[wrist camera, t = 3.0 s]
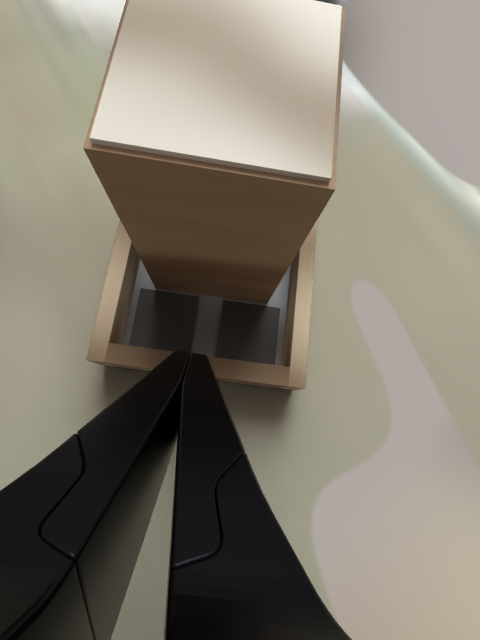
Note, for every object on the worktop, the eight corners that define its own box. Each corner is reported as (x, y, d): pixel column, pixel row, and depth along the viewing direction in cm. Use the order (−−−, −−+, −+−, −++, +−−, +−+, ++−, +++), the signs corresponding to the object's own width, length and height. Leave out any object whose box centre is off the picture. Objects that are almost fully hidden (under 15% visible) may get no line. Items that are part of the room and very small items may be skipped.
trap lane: (292, 390, 16) (310, 388, 13) (104, 365, 15) (78, 357, 12) (314, 109, 20) (332, 59, 17) (168, 83, 19) (160, 27, 16)
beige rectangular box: (267, 304, 16) (337, 185, 7) (155, 288, 16) (80, 142, 7) (277, 206, 17) (347, 2, 8) (174, 190, 17) (133, -40, 8)
